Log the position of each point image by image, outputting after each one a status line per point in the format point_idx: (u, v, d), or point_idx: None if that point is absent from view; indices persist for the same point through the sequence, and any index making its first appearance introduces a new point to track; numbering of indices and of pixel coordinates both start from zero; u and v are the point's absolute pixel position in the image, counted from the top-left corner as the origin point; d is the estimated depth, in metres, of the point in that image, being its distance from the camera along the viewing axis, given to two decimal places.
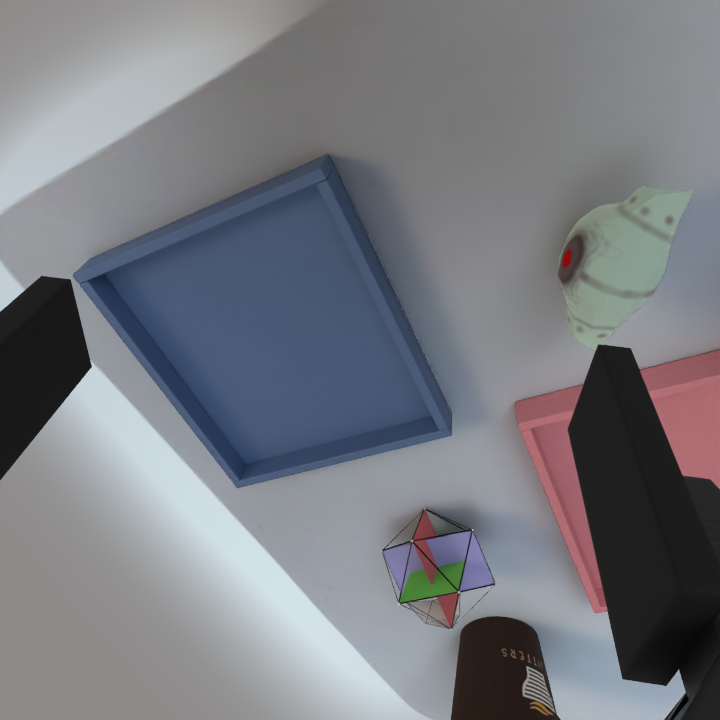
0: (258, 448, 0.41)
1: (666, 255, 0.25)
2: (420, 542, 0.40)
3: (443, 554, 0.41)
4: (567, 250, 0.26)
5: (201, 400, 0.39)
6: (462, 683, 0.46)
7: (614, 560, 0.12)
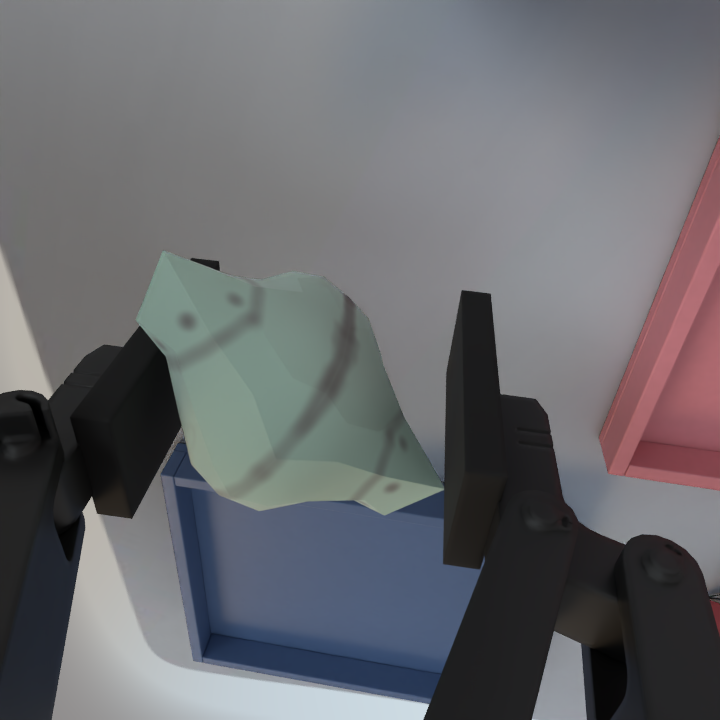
0: None
1: (262, 349, 0.12)
2: None
3: None
4: None
5: (383, 662, 0.35)
6: None
7: (450, 468, 0.13)
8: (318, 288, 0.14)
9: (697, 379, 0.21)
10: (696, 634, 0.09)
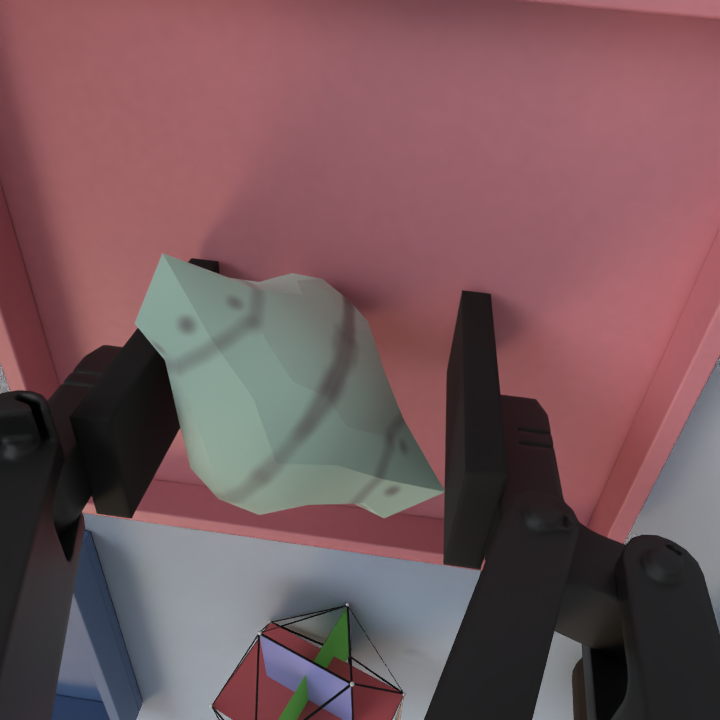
0: None
1: (263, 352, 0.12)
2: (245, 690, 0.25)
3: (290, 681, 0.25)
4: None
5: None
6: None
7: (450, 468, 0.13)
8: (318, 291, 0.14)
9: None
10: (696, 635, 0.09)
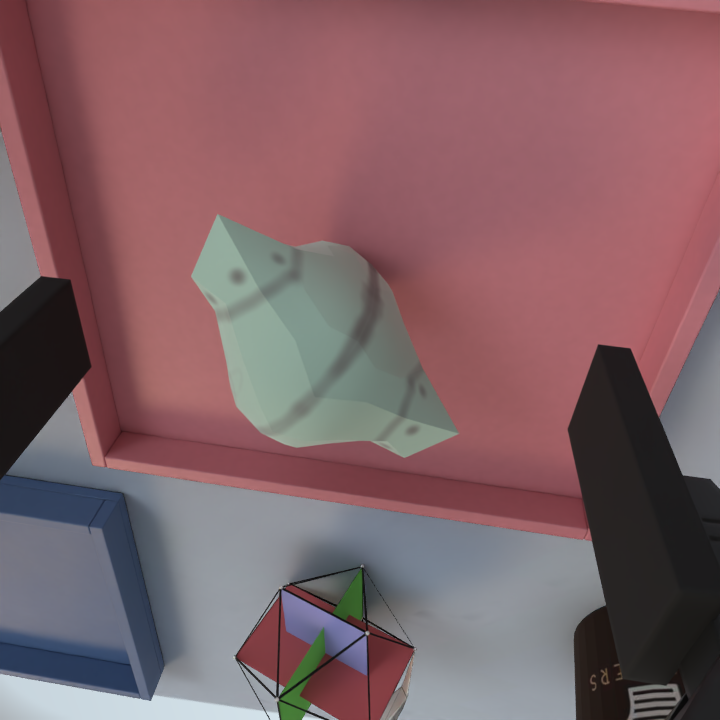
0: None
1: (302, 301, 0.13)
2: (266, 644, 0.27)
3: (309, 635, 0.27)
4: None
5: (53, 649, 0.36)
6: None
7: (614, 559, 0.12)
8: (346, 254, 0.16)
9: (152, 375, 0.22)
10: None
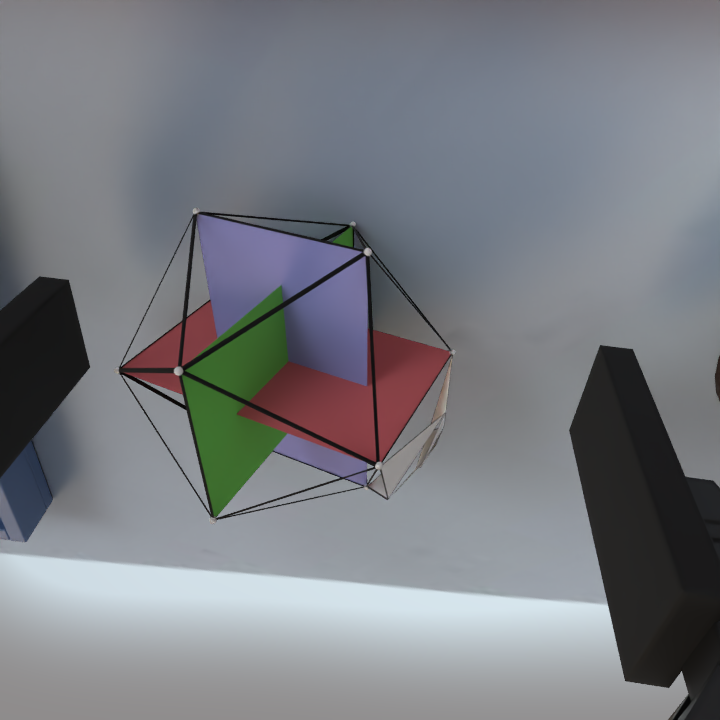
0: None
1: None
2: (178, 354, 0.15)
3: None
4: None
5: None
6: None
7: (617, 561, 0.12)
8: None
9: None
10: None
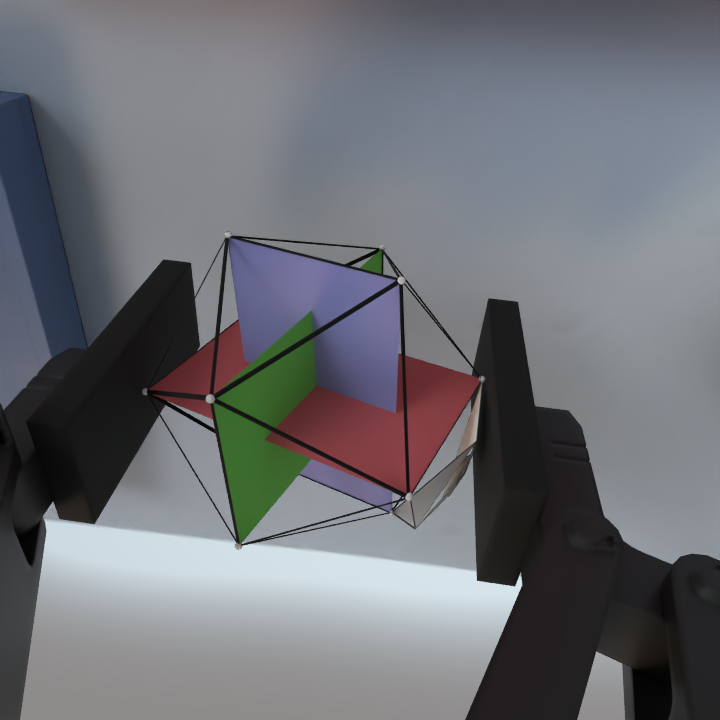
0: None
1: None
2: (206, 376, 0.15)
3: None
4: None
5: None
6: None
7: (481, 482, 0.13)
8: None
9: None
10: None
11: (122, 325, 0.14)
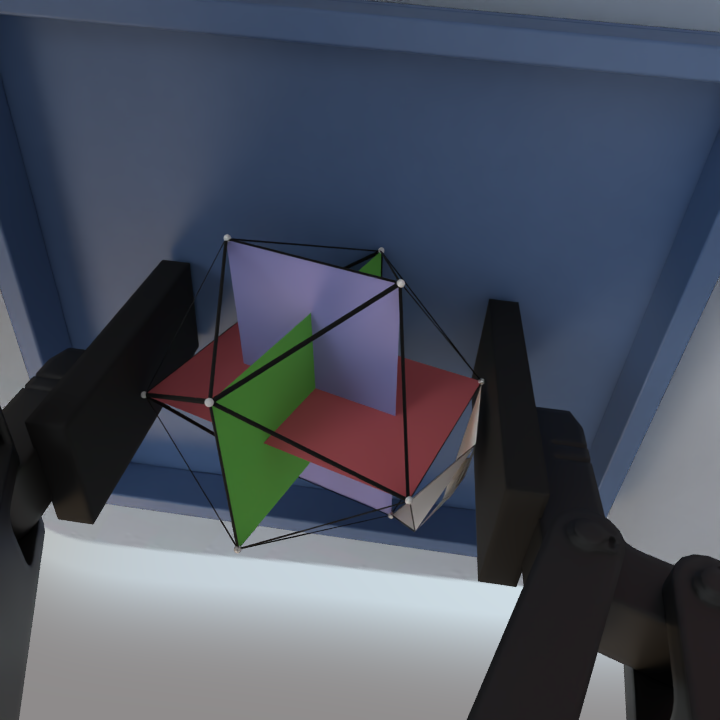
0: None
1: None
2: (205, 378, 0.15)
3: None
4: None
5: None
6: None
7: (482, 482, 0.13)
8: None
9: None
10: None
11: (121, 325, 0.14)
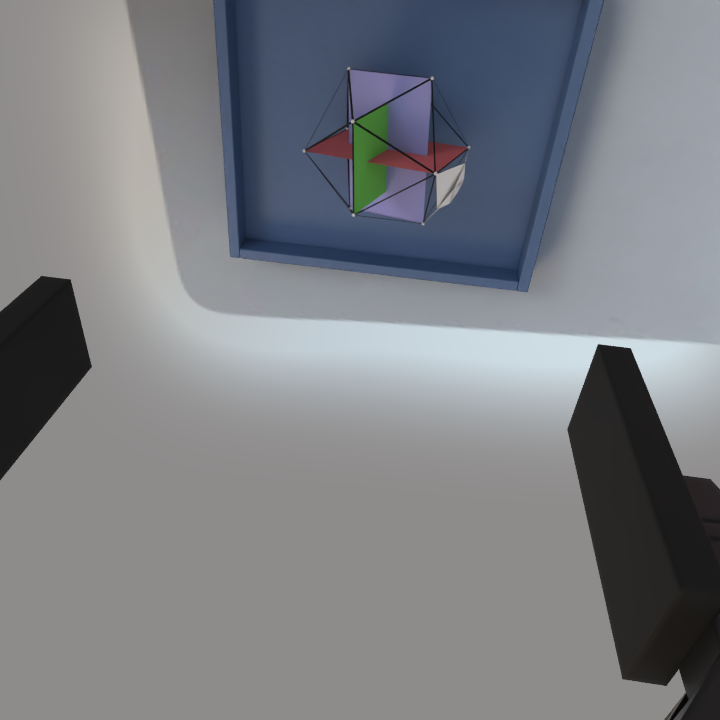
0: (504, 241, 0.35)
1: None
2: (331, 147, 0.30)
3: None
4: None
5: (416, 255, 0.36)
6: None
7: (614, 560, 0.12)
8: None
9: None
10: None
11: None
